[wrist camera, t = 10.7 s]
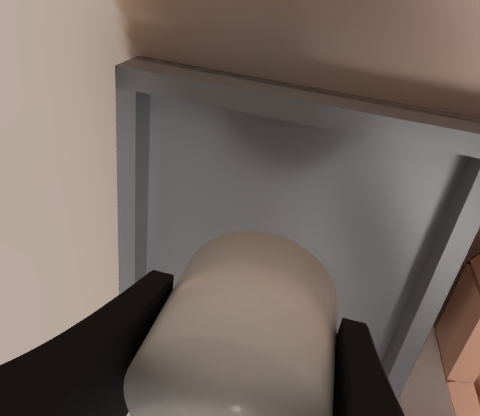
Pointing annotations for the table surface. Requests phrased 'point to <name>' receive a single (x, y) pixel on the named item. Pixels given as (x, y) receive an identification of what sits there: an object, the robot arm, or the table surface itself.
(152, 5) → the table surface
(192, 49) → the table surface
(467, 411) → the bowl
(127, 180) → the parts tray
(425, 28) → the table surface
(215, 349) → the white rounded piece
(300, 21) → the table surface
